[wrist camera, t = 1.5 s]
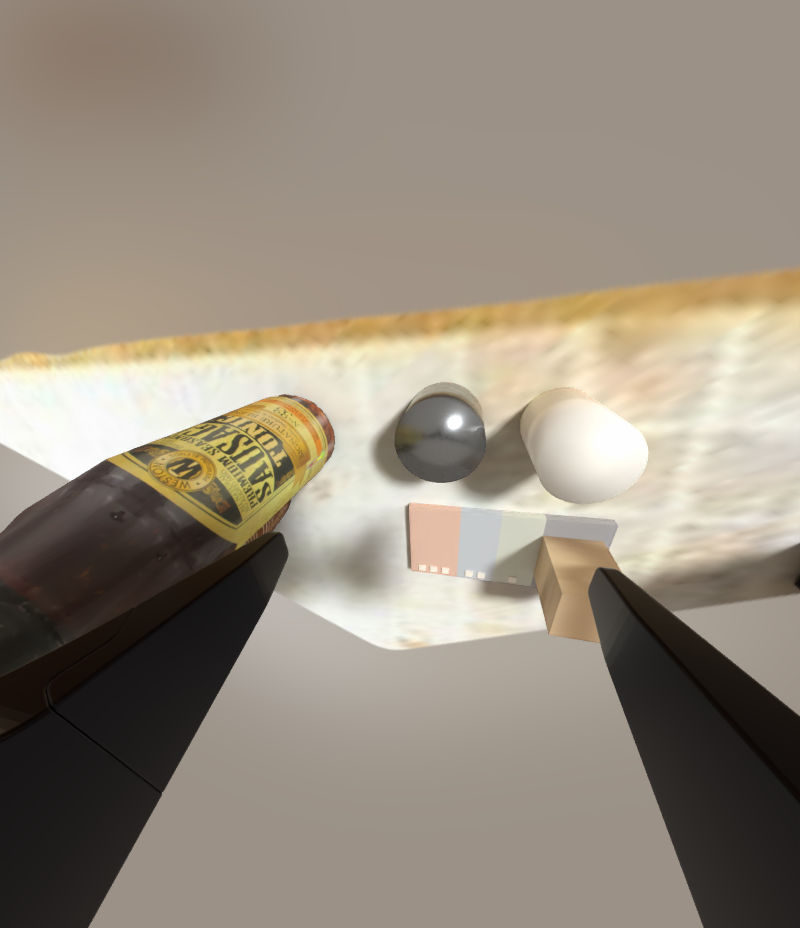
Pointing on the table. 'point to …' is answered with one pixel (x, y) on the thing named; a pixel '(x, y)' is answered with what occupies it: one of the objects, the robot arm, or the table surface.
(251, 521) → the sauce bottle
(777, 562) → the table surface
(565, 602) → the oak block
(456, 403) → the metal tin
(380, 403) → the table surface
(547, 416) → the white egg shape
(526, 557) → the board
